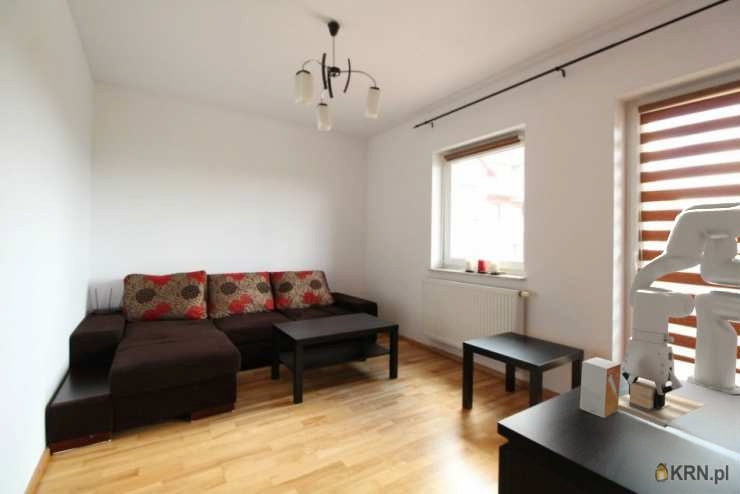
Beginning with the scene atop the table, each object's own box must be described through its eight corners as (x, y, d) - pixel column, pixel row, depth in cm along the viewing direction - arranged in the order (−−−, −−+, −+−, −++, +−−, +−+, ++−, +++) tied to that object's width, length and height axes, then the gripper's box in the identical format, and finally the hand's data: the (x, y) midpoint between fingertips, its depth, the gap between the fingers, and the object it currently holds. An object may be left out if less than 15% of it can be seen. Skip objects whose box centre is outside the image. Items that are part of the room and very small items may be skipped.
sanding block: (642, 400, 100) (643, 379, 100) (661, 407, 96) (662, 385, 96) (629, 405, 96) (630, 384, 96) (648, 413, 92) (649, 390, 92)
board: (649, 390, 110) (649, 386, 110) (704, 408, 99) (704, 404, 99) (608, 405, 99) (608, 400, 99) (664, 427, 88) (664, 422, 88)
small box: (604, 419, 91) (607, 368, 91) (579, 408, 97) (581, 361, 96) (619, 411, 96) (621, 363, 95) (593, 401, 101) (595, 356, 101)
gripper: (696, 343, 90) (692, 414, 90) (622, 327, 105) (618, 388, 105) (682, 347, 86) (678, 421, 87) (607, 330, 101) (604, 393, 102)
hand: (645, 402), depth 96 cm, fingers open, 5 cm apart
